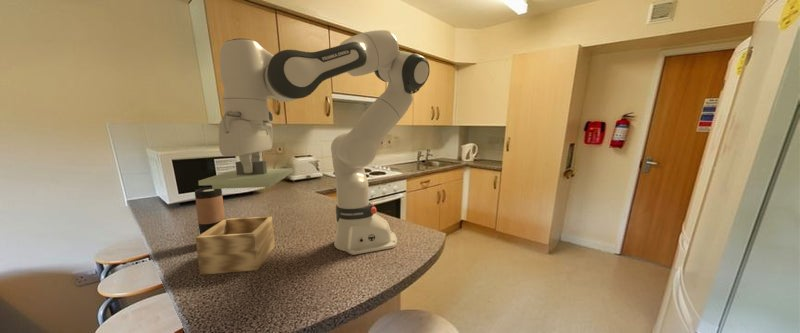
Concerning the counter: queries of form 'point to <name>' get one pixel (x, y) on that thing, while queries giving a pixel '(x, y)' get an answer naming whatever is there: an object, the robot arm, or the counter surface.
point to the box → (235, 245)
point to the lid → (247, 177)
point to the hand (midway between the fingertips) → (252, 171)
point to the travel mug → (209, 208)
